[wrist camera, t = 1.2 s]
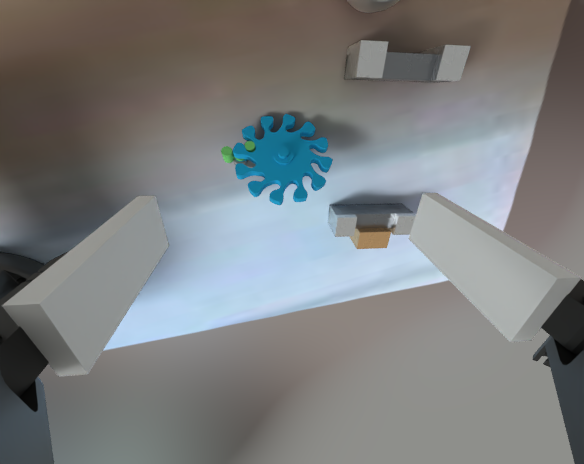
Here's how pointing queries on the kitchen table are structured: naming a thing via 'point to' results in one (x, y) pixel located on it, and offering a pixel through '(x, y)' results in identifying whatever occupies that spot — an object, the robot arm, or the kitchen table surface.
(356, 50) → the support blocks
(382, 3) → the plastic bottle
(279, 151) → the gear
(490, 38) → the kitchen table surface
